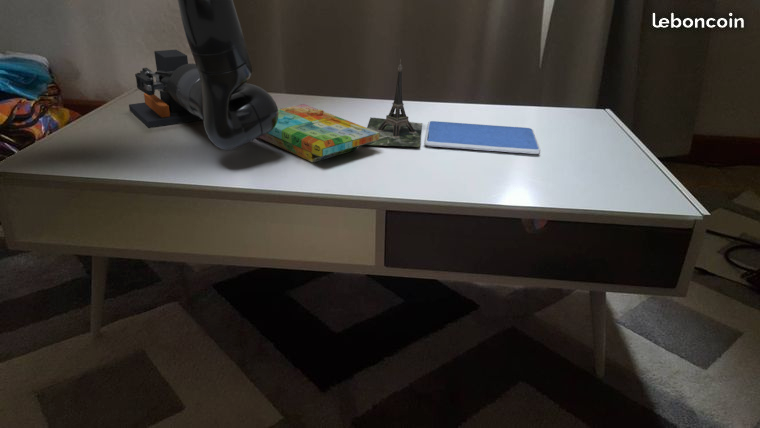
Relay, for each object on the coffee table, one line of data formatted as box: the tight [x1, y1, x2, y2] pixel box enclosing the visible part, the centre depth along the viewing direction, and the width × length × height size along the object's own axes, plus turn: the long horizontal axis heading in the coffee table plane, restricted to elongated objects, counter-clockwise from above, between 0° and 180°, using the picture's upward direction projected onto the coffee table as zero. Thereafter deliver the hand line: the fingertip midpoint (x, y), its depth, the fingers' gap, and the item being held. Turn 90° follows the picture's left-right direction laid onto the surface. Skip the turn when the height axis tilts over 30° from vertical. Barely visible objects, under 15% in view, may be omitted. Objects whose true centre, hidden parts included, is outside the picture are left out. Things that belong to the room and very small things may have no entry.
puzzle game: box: [258, 103, 380, 163], centre depth 94 cm, size 12×5×20 cm
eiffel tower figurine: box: [362, 58, 423, 148], centre depth 99 cm, size 15×10×13 cm
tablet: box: [423, 120, 541, 155], centre depth 100 cm, size 19×13×1 cm, turn 83°
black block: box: [153, 49, 189, 113], centre depth 105 cm, size 4×6×10 cm, turn 36°
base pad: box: [128, 92, 203, 129], centre depth 107 cm, size 14×12×3 cm
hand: (168, 71), depth 106 cm, fingers open, 8 cm apart
